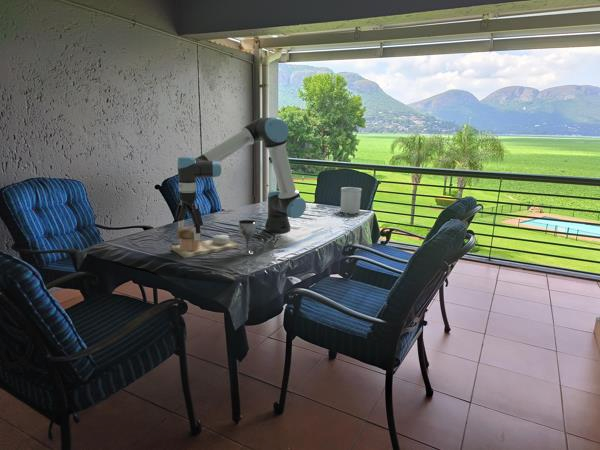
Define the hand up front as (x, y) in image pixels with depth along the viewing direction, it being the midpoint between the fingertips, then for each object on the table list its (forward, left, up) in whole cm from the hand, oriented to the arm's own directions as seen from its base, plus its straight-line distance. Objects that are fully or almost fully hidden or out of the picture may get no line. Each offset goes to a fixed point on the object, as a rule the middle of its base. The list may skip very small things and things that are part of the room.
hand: (189, 237), depth 177 cm
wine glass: (-26, -7, -7) cm, 28 cm away
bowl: (0, 0, -6) cm, 6 cm away
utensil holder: (-64, -119, -7) cm, 135 cm away
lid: (0, 0, 0) cm, 0 cm away
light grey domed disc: (-10, -13, -6) cm, 17 cm away
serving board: (-5, -6, -7) cm, 11 cm away
